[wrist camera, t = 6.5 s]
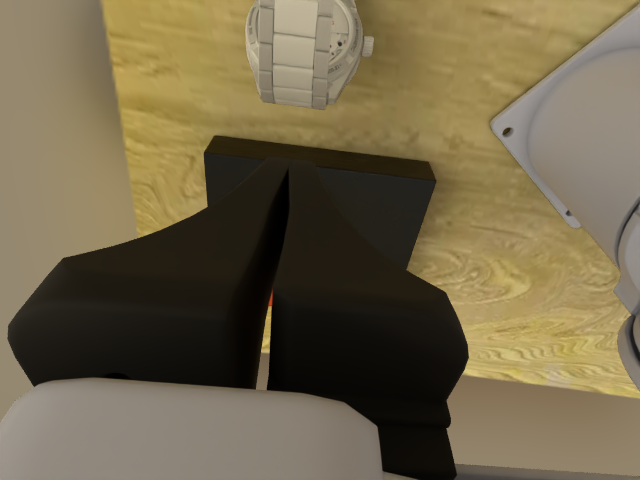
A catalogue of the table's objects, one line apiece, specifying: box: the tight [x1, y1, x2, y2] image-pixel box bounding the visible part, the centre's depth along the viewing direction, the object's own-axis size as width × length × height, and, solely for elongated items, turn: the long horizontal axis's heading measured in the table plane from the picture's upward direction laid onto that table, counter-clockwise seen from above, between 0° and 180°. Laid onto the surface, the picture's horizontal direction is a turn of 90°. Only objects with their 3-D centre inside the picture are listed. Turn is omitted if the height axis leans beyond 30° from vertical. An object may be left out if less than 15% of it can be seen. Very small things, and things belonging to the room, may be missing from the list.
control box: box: [204, 136, 436, 269], centre depth 23 cm, size 12×10×4 cm
